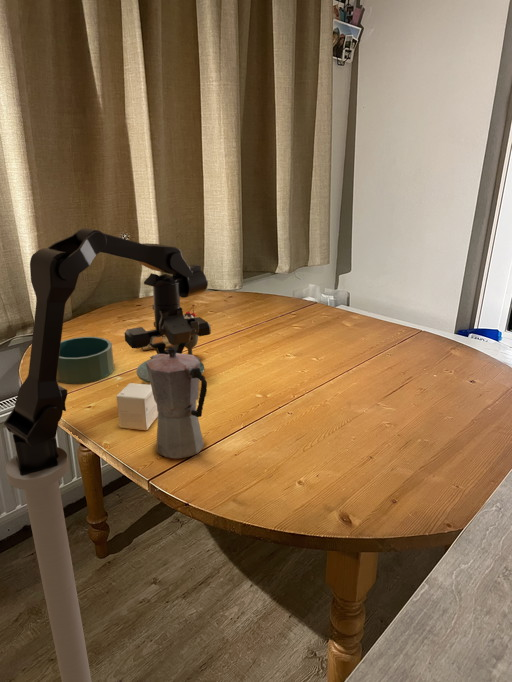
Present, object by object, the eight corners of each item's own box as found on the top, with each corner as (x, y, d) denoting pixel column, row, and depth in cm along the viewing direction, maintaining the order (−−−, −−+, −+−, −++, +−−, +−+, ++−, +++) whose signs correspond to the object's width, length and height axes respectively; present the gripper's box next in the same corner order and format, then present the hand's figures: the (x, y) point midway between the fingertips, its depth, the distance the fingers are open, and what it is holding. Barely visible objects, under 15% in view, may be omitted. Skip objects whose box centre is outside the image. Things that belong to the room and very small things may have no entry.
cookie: (186, 345, 142) (185, 342, 142) (143, 350, 138) (142, 347, 137) (176, 331, 152) (176, 328, 152) (136, 336, 148) (135, 333, 148)
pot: (59, 389, 116) (55, 363, 114) (48, 366, 128) (44, 342, 126) (121, 375, 123) (118, 351, 121) (105, 355, 135) (102, 332, 133)
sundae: (205, 355, 135) (203, 302, 130) (200, 365, 129) (198, 310, 124) (181, 354, 136) (178, 301, 130) (175, 364, 130) (172, 309, 124)
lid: (150, 393, 107) (148, 369, 105) (128, 367, 119) (126, 345, 117) (215, 378, 114) (215, 355, 112) (188, 355, 127) (187, 334, 125)
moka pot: (173, 423, 102) (168, 332, 95) (229, 451, 93) (228, 352, 86) (136, 443, 95) (127, 346, 88) (192, 475, 86) (187, 370, 79)
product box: (147, 431, 99) (144, 398, 97) (118, 428, 100) (115, 395, 98) (158, 416, 105) (156, 384, 102) (131, 413, 106) (128, 382, 103)
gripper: (137, 318, 100) (143, 389, 105) (221, 305, 108) (222, 371, 114) (121, 304, 108) (127, 370, 114) (199, 293, 117) (201, 354, 123)
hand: (170, 366), depth 116 cm, fingers closed on lid, 2 cm apart
